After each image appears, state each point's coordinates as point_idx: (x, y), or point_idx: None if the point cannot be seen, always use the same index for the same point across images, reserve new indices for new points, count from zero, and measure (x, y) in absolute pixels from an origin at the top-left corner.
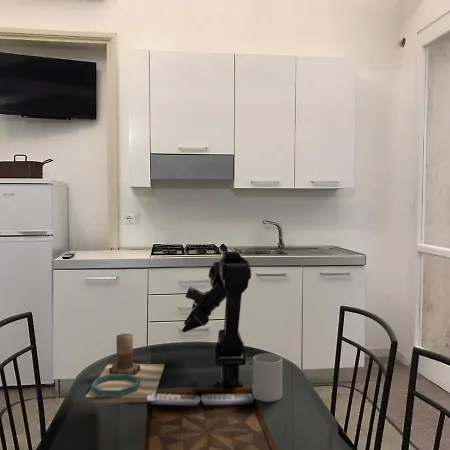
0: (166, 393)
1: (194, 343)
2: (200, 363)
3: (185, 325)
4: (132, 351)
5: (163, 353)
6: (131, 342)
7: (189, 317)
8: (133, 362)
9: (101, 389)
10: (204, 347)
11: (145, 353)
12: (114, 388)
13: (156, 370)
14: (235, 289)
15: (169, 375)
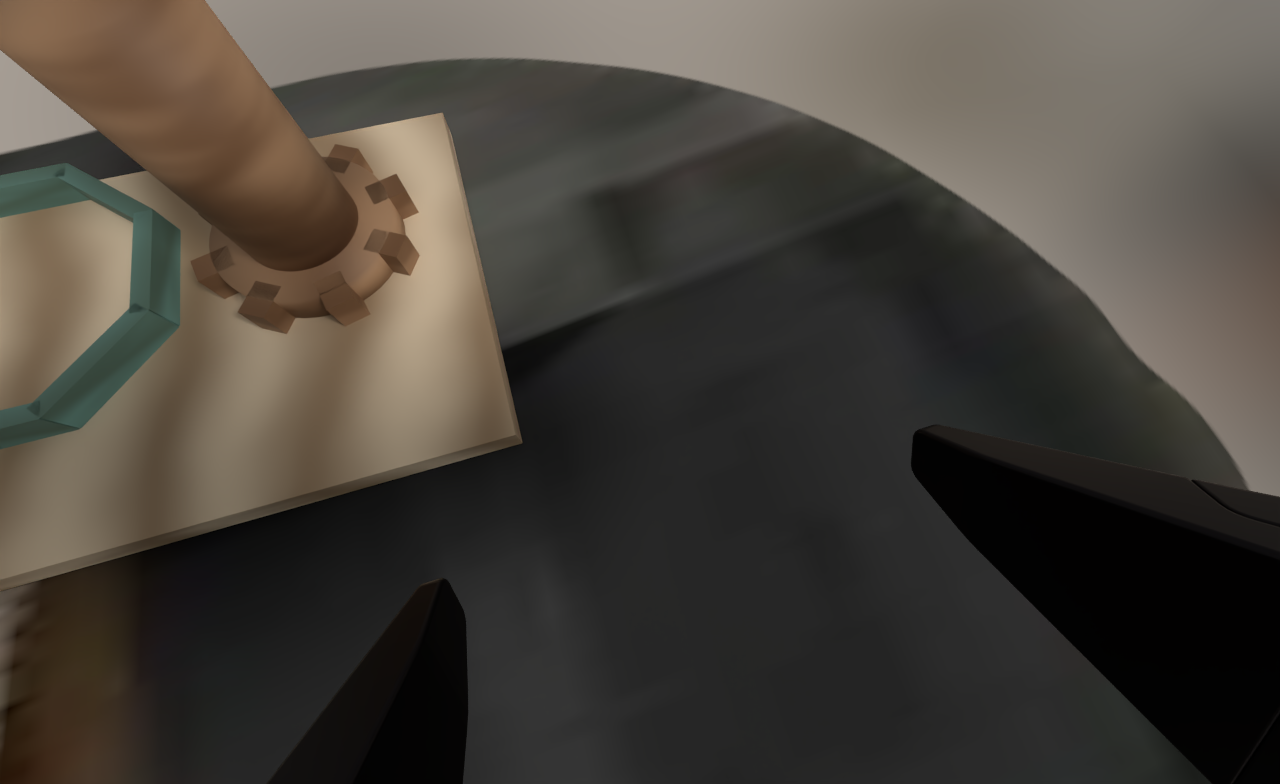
0: (6, 660)
1: (1168, 439)
2: (719, 684)
3: (329, 707)
4: (211, 186)
5: (829, 310)
6: (92, 106)
7: (1080, 520)
8: (403, 238)
9: None
10: None
11: (780, 209)
12: (2, 311)
13: (365, 429)
14: None
15: (389, 531)
